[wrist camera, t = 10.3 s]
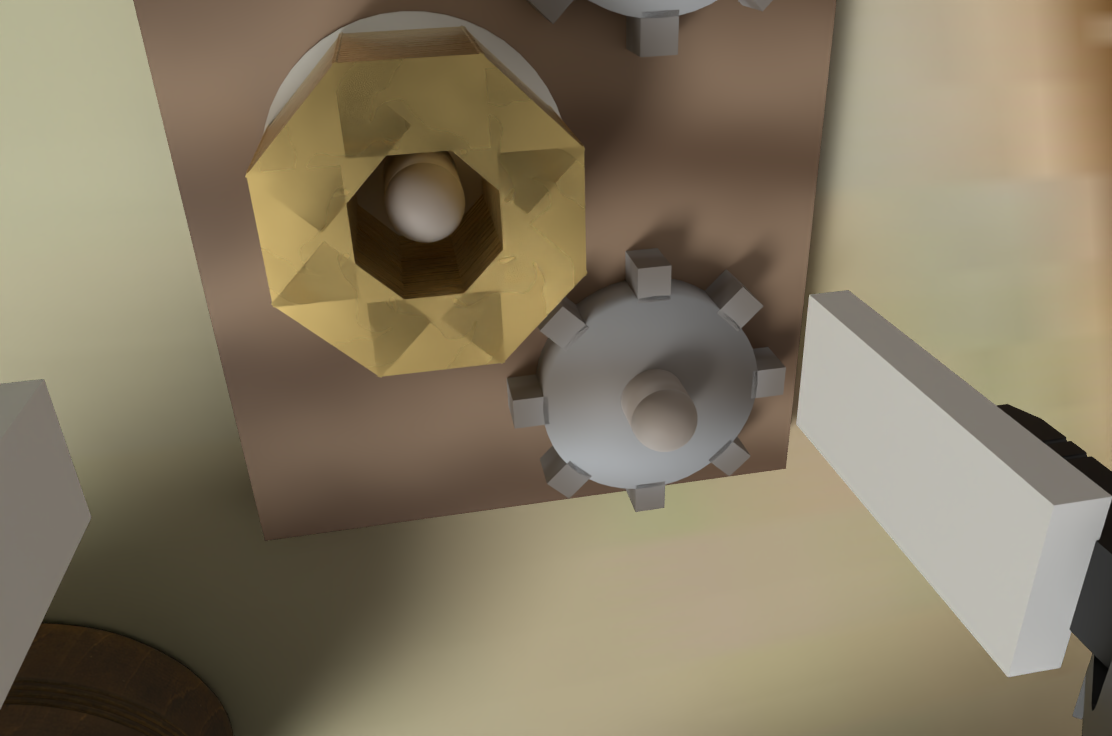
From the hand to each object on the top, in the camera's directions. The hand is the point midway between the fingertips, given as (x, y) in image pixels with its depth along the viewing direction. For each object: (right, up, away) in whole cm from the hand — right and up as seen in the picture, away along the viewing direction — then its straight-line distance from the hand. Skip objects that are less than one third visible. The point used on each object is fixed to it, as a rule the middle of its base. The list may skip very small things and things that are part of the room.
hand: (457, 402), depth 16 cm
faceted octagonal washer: (-2, +6, +11) cm, 13 cm away
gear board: (0, +8, +14) cm, 16 cm away
